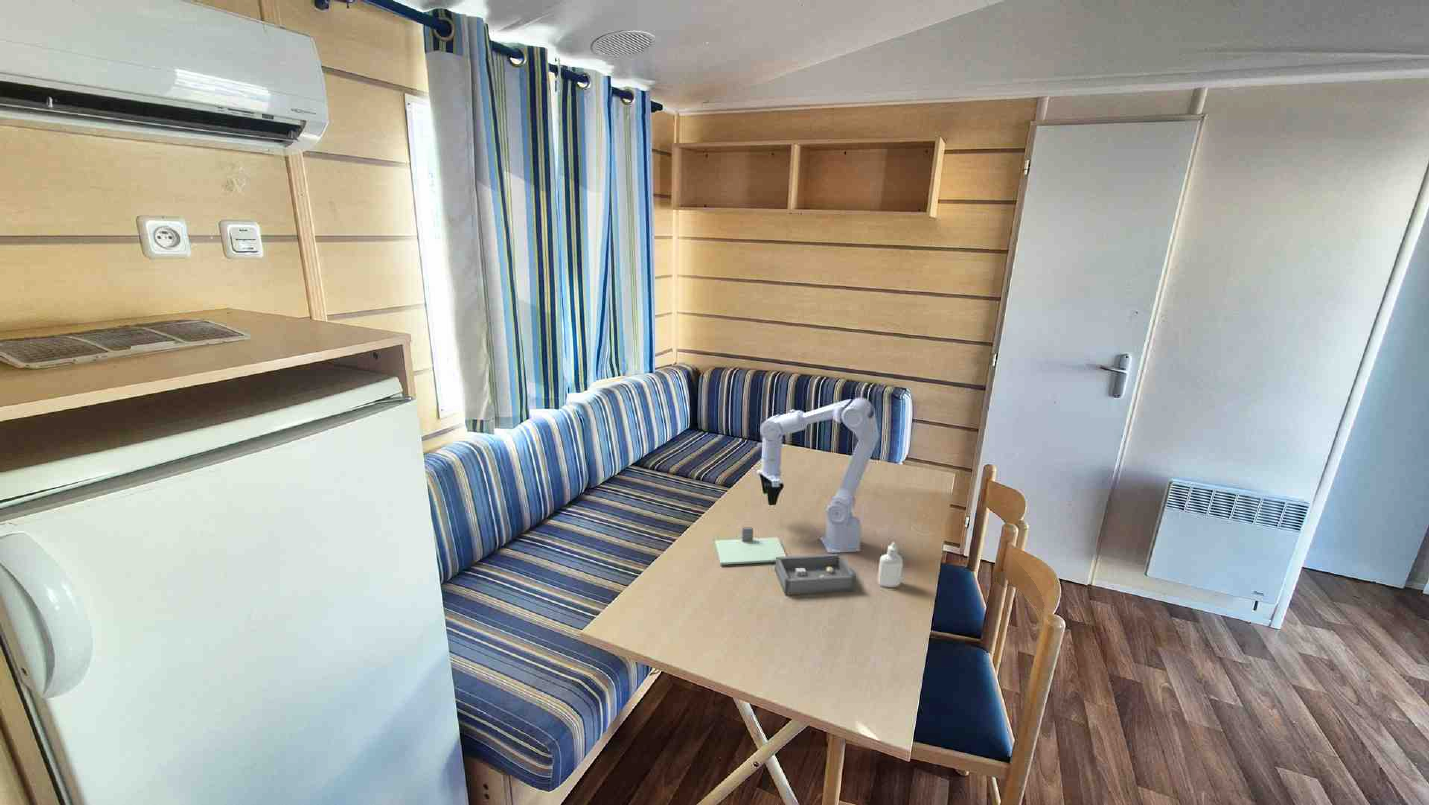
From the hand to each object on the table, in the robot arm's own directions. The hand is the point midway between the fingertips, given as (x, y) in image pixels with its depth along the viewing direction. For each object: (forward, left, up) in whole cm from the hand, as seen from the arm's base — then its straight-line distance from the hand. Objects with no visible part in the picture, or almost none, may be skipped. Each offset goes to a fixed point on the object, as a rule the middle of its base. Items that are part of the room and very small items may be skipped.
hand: (769, 498), depth 173 cm
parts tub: (-6, +28, -10) cm, 30 cm away
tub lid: (+8, +14, -9) cm, 18 cm away
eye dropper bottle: (-25, +32, -10) cm, 42 cm away
